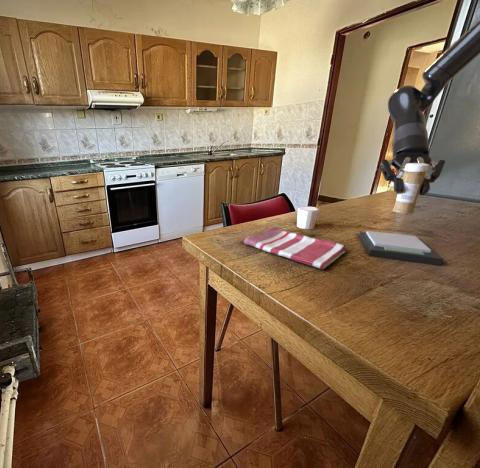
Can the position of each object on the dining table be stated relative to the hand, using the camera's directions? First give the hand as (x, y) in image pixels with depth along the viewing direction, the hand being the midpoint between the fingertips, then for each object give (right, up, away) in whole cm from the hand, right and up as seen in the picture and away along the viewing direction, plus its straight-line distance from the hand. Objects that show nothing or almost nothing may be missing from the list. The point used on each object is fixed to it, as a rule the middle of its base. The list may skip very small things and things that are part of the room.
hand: (411, 192), depth 69 cm
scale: (+1, -16, +6) cm, 17 cm away
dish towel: (-28, -16, +9) cm, 33 cm away
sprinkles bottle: (+1, -5, +4) cm, 7 cm away
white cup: (-14, -9, +26) cm, 31 cm away
